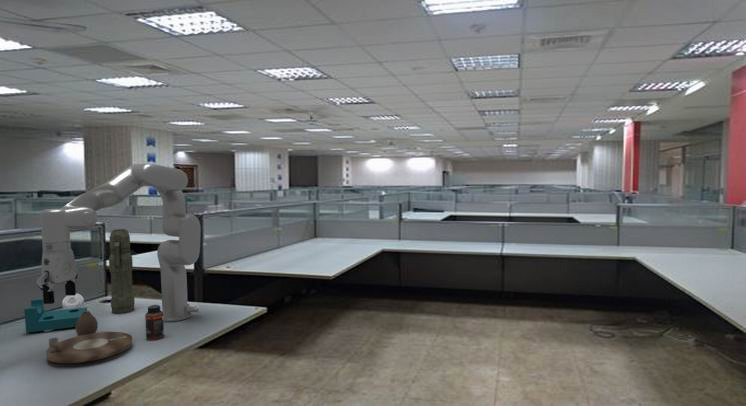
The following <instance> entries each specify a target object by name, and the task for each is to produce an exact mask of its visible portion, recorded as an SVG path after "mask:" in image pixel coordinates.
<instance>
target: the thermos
mask: <svg viewBox="0 0 746 406" xmlns="http://www.w3.org/2000/svg"><path fill="white" fill-rule="evenodd" d="M130 237H131V235H130V233H129V232H128V230H127V229H125V228H121V229H119V228H117V229H113V230H111V231H110V235H109V250H110V252H109V257H108V266H109V267H108V269H109V273H110V284H111V298H110V308H111V314H113V315H124V314H129V313H132V312H134V311H135V295H134V292H133V269H134V266H133V265H134V264H133V256H132V253H131V238H130Z"/></svg>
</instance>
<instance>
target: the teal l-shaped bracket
mask: <svg viewBox="0 0 746 406" xmlns="http://www.w3.org/2000/svg"><path fill="white" fill-rule="evenodd" d="M44 306H45V305H44V303H43V298H35V299H34V298H33V299H31V300H30V307H25V308H23V312H24V320H25V321H24V322H25V333H26V334H28V333H35V332H43V331H45V332H46V331H50V330H59V329H68V328H75V326H76V322H77V320H78V319H79V317H80V316H81V314H82V312H85V311H88V307H86V306H85V307H84V306H83V307H82V308H75V309H66V310H65V309H57V310H49V311H47V310H46V311H45V307H44Z"/></svg>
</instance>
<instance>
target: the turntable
mask: <svg viewBox="0 0 746 406" xmlns="http://www.w3.org/2000/svg"><path fill="white" fill-rule="evenodd" d="M132 344H133V336H132V335H131V334H129V333H126V332H121V331H101V332H96V333H92V334H86V335H81V336H78V335H77V336H73V337H69V338H67V339H64V340H61V341H59V338H58V337H52V338H49V339H48V348H47V349H46V353H45V354H46V359H47V360H48V361H50V362H52V363H58V364H76V363H77V364H78V363H85V362H92V361H96V360H100V359H101V360H102V359H104V358H109V357H111V356H114V355H117V354H119V353H122V352H123V351H125V350H127V349H129V348H130V347H131V346H132Z"/></svg>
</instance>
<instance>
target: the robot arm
mask: <svg viewBox="0 0 746 406" xmlns="http://www.w3.org/2000/svg"><path fill="white" fill-rule="evenodd" d="M188 181H189V178H188V175H187V173H186V172H184V171H183V170H182V169H178V168H176V167H175V168H174V167H170V166H164V165H160V164H156V163H155V164H154V163H136V164H131V165H129V166H128V167H125V169H123V170H122V171H121V172H119V173H117V174H116V175H115V176H113V177H112V178H111V179H109V180H108V181H106V182H104V183H103V184H101V185H99V186H96V187H94V188H92V189H91V190H88V191H87V192H85V193H82V194H80V195H79V196H77V197H75V198H73V199H72V200H70V201H69V202H68V203H66V204H64V205H63V206H62V207H61V208H47V209H43V210H42V211H41V212H40V226H41V227H40V228H41V229H40V230H41V242H42V254H41V255H42V256H41V275H40V276H39V277H38V278H37V279H36V284H37V286H38V288H39V289H40V292H41V293H42V299H43V304H45V305H46V304H47V305H51V304H52V305H53V304H54V303H55V291H54V290H53V289H54V286H55V285H59V284H62V283H65V284H64V288H65V289H64V291H65V297H66V296H74V295H76V294H77V293H76V292H77V291H76V283H77V279H78V278H79V277H78V274H79V270H80V269H79V267H76V260H75V255H74V251H73V249H72V245H71V244H72V243H71V232H70V231H71V230H87V229H90V228H93V227H94V226H95V225H96V224H97V222H98V220H99V215H98V213H97V212H96V211H98V210H102V209H104V208H109V207H113V206H115V205H119V204H121V203H123V202H124V201H125V200H127V199H128V198H129V197H130V196H131V195H134V194H135V193H136V192H137V191H139V190H140V189H141V188H144V187H152V188H153V190H155V191H156V192H157V193H158V194H159V196H160V198H161V200H162V221H161V222H162V223H161V226H162V227H161V228H162V232H163V233H164V234H165V235H166V236H168V237H176V238H178V239H167V240H165V241H162V242H161V243H160V244H159V245H158V248H157V252H156V253H157V259H158V263H159V269H160V284H161V285H160V286H161V287H160V288H161V307H162V308H161V311H162V312H163V315H164V323H165V322H166V323H167V322H168V323H169V322H178V321H179V322H180V321H184V320H187V319H190V318H191V317H192V316H193V313H200V307H197V306H191V305H190V303H188V283H187V281H188V279H187V277H188V276H187V270H186V267H185V266H191V265H193V264H196V262H197V261H198V259H199V257H200V253H201V222H200V219H198V217H197V216H196V215H195V214H192V213H186V212H187V211H186V210H187V209H186V197H185V194H184V193H183V190H184V189H185V188H187V185H188V183H189V182H188Z"/></svg>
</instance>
